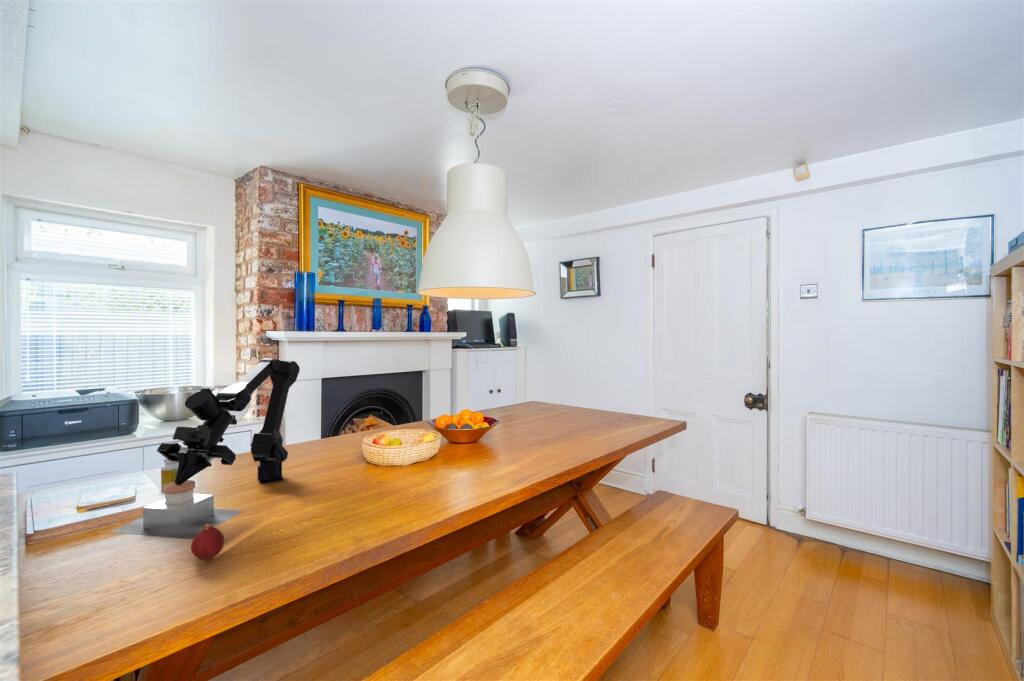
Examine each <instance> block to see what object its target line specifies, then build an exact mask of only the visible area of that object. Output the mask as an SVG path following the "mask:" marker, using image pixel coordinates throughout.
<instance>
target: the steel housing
mask: <svg viewBox="0 0 1024 681" xmlns="http://www.w3.org/2000/svg"><path fill="white" fill-rule="evenodd" d="M214 500H215V498H214V494H208V493H207V494H206V493H205V494H204V493H194V492H193V500H191V501H188V502H186V503H184V504H182V505H168V504H165V498H163V499H160V500H158V501H155V502H154V503H151V504H148V505H146V506H143V507H142V517H143V528H148V529H160V530H172V531H182V530H183V529H185V528H187V527H189V526H191V525H193V524H195V523H197V522H199V521H201V520H203V519H205V518H207V517H209V516H211V515H213V514H214V509H215V507H214V506H215V505H214V503H215V502H214Z"/></svg>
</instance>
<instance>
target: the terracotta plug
mask: <svg viewBox="0 0 1024 681" xmlns="http://www.w3.org/2000/svg"><path fill="white" fill-rule="evenodd" d="M195 488H196V481H195V480H192V479H191V480H190V479H188V480H187V481H185V482H184V483H182V484H181V485H177V484H175V482H172V483H169V484H166V485H165V486H164V487H163V491H162V492H163V494H164V497H165V498H164V499H165V504H168V505H182V504H184V503H186V502H188V501H191V500H193V493H194V489H195Z"/></svg>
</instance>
